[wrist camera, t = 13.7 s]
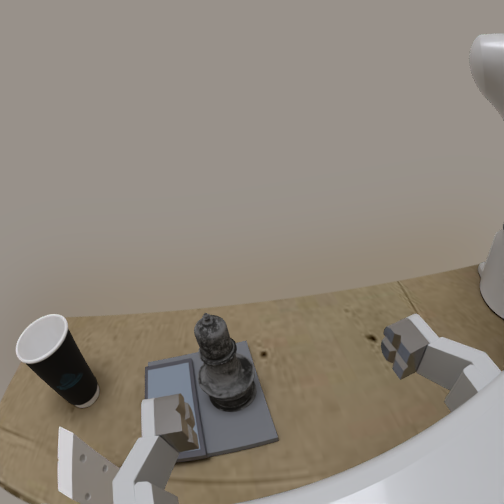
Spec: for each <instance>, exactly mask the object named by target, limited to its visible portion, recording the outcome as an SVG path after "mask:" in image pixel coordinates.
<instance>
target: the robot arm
mask: <svg viewBox="0 0 504 504" xmlns="http://www.w3.org/2000/svg"><path fill="white" fill-rule="evenodd" d="M469 63H470V69H471V73H472V76H473V79H474V81H475V83H476V85H477V87H478V88H479V90H480V91H481V93H482V94H483V95H484V96H485V98H486V99H487V100H489V102H490V103H491V104H492V105H493V106H494V107H495V108H496V110H497V111H498V112H499V114H500V115H501V117H502V118H503V120H504V34H482V35H479V36H478V37H477V38H476V39H475V41H474V42H473V44H472V47H471V50H470V56H469ZM478 272H479V274H480V277H481V281H480V290H481V294H482V296H483V298H484V300H485V302H486V303H487V304H488V306H489V307H490V308H491V309H492V310H493V311H494V312H495V313H496V314H498V315H499V316H500V317H502V318H503V319H504V224H503V229H502V230H500V231H498V232H496V234H495V236H494V240H493V243H492V246H491V248H490V251H489V254H488V257H487V260H486V262H482V263H480V264H479V267H478ZM384 335H385V337H384V339H383V340H382V343H381V349H382V353H383V355H384V357H385V358H386V360H387V361H389V362H391V363H393V368H392V369H393V370H394V371H395V373H396V374H397V376H398V377H399V379H400V380H401V379H403V378H405V377H407V376H409V375H411V374H413V373H415V372H416V373H418V374H420V375H422V376H424V377H426V378H427V379H429V380H431V381H433V382H435V383H437V384H439V385H441V386H443V387H444V388H446V389H448V390H450V392H449V393H448V395H447V396H446V398H445V401H444V402H445V403H446V405H447V406H448V408H449V409H450V411H451V413H450V414H448V415H447V416H445V417H444V418H442V419H441V420H439V421H438V422H436V423H435V424H433V425H432V426H430V427H429V428H427V429H425V430H424V431H422V432H421V433H419V434H417V435H416V436H414V437H412V438H410V439H409V440H407V441H405V442H403V443H402V444H400V445H398V446H396V447H394V448H392V449H390V450H389V451H387V452H385V453H383V454H381V455H379V456H377V457H375V458H372V459H370V460H368V461H366V462H364V463H362V464H360V465H357V466H355V467H353V468H350V469H348V470H346V471H343V472H341V473H338V474H336V475H333V476H331V477H328V478H325V479H323V480H320V481H317V482H314V483H311V484H308V485H305V486H302V487H299V488H296V489H293V490H289V491H286V492H282V493H279V494H275V495H271V496H267V497H263V498H259V499H255V500H250V501H245V502H240V503H235V504H504V370H503V371H502V372H501V371H500V369H499V368H498V367H497V366H496V365H495V363H494V362H493V361H492V360H491V359H490V357H489V356H488V355H487V354H486V353H485V352H483V351H480V350H477V349H474V348H472V347H469V346H466V345H463V344H460V343H458V342H455V341H452V340H449V339H447V338H444V337H441V338H439V337H438V336H437V335H436V334H435V332H434V331H433V330H432V329H431V328H430V327H429V326H428V325H427V324H426V322H425V321H424V320H423V319H422V318H421V317H420V316H419V315H418V314H413V315H411V316H409V317H407V318H404V319H402V320H400V321H398V322H396V323H394V324H392V325H389V326H387V327H386V328H385V329H384ZM141 422H142V437H141V438H138V440H137V441H136V443H135V445H134V446H133V448H132V450H131V451H130V453H129V455H128V456H127V458H126V460H125V461H124V463H123V465H122V466H121V468H120V470H119V471H118V473H117V475H116V476H115V478H114V480H113V481H112V484H113V503H114V504H179V502H178V497H177V496H175V495H174V494H171V493H169V492H167V491H165V490H164V489H165V486H166V484H167V481H168V479H169V477H170V474H171V472H172V470H173V467H174V465H175V463H176V460H177V458H178V455H179V453H178V452H184V451H190V450H195V449H199V444H198V438H197V434H196V432H195V431H194V430H193V428H194V426H195V419H194V415H193V412H192V409H191V407H190V405H189V404H188V403H186V402H184V397H183V396H182V394H181V393H179V394H174V395H169V396H163V397H157V398H151V399H145V400H142V404H141Z"/></svg>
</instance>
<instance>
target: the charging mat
mask: <svg viewBox="0 0 504 504" xmlns="http://www.w3.org/2000/svg"><path fill="white" fill-rule="evenodd" d="M236 345H237V351H236V353H240V354H243V355H244V356H246V357H248V358H249V359H250V360H251V361H252V357H251V354H250V351H249V348H248V345H247V342H246V341H242V342H239V343H236ZM198 353H199V352H197V353H192V354H188V355H183V356H178V357H173V358H169V359H163V360H158V361H153V362H148V366H153V365H158V364H164V363H169V362H174V361H179V360H183V359H188V358H192V361H193V364H194V372H195V379H196V387H197V394H198V400H199V407H200V413H201V419H202V425H203V431H204V437H205V443H206V448H207V454H208V457H211V456H216V455H221V454H226V453H231V452H236V451H240V450H245V449H249V448H253V447H257V446H261V445H265V444H268V443H272V442H276V441H279V440H278V436H277V433H276V430H275V427H274V424H273V421H272V418H271V415H270V412H269V409H268V406H267V403H266V400H265V397H264V394H263V391H262V388H261V385H260V382H259V379H258V376H257V373H256V370H255V377H254V382H255V385H256V390H257V392H256V397H255V399H254V400H253V402H252V403H251V404H250V405H249V406H248V407H246V408H244V409H243V410H240V411H237V412H225V411H222V410H219V409H217V408H216V407H215V406H213V404H212V403H211V401H210V399H209V395H208V394H206V393H205V392H204V391H203V390H202V389H201V387H200V386H199V383H198V372H199V370H200V367H201V366H202V365H203V363H204V362H202V361H201V359H200V358H199V354H198ZM252 363H253V361H252ZM253 365H254V364H253Z"/></svg>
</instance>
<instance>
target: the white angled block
mask: <svg viewBox="0 0 504 504" xmlns="http://www.w3.org/2000/svg"><path fill="white" fill-rule="evenodd" d="M58 459H59V462H58V491H60V492H61V493H63V494H64V495H66V496H68V497H69V498H71V499H73V500H75V501H77V502H79V503H81V504H114V503H113V484H112V481H113V480H114V478H115V476H116V475H117V473H118V471H119V470H120V468H119V467H117V466H116V465H114V464H113V463H112V462H110V461H109V460H107V459H106V458H105V457H103V456H102V455H100V454H99V453H98V452H96V451H95V450H94V449H92V448H91V447H90V446H88V445H87V444H86V443H85V442H83V441H82V440H81V439H80V438H78V437H77V436H76V435H75V434H74V433H72V432H70V431H68V430H66V429H64V428H62V427H60V426H59V439H58Z"/></svg>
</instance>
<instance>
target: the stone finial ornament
mask: <svg viewBox="0 0 504 504" xmlns="http://www.w3.org/2000/svg"><path fill="white" fill-rule="evenodd" d="M194 333H195V337H196V339H197V342H198V344H199V347H200V348H199V353H198V354H199V358H200V359H201V361H202V362H204V363H203V365H202V366H201V367H200V370H199V372H198V383H199V386H200V387H201V389H202V390H203V391H204V392H205V393H206V394H208V395H209V399H210V401H211V403H212V404H213V406H215V407H216V408H217V409H219V410H222V411H225V412H237V411H240V410H243V409H244V408H246V407H248V406H249V405H250V404H251V403H252V402H253V400H254V399H255V397H256V392H257V390H256V385H255V382H254V377H255V367H254V365H253V363H252V361H251V360H250V359H249V358H248V357H246V356H244V355H243V354H240V353H236V351H237V345H236V343H235V341H234V340H233V339H232V338H230V336H229V332H228V329H227V325H226V323H225V321H224V320H223V319H222V318H220V317H218V316H215V315H210V314H207V313H205V314H204V315H203V317H202V318H201V319H200V320H199V321H198V322H197V324H196V326H195V328H194Z"/></svg>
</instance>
